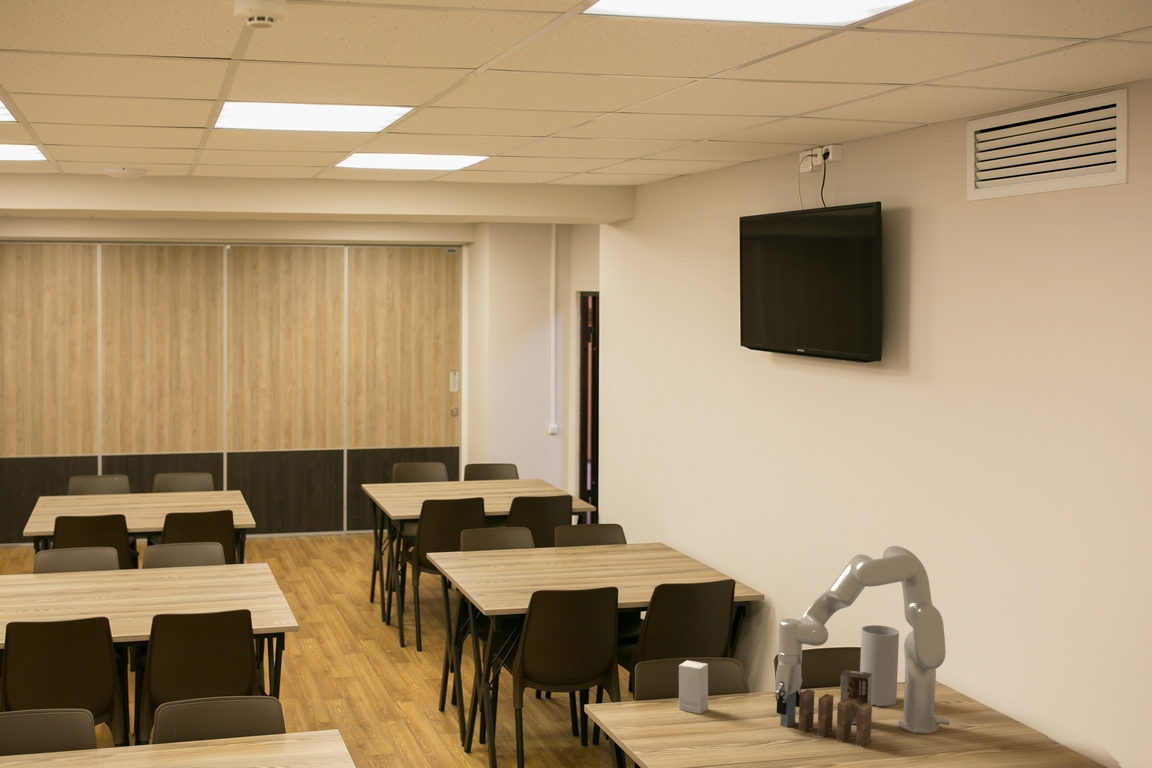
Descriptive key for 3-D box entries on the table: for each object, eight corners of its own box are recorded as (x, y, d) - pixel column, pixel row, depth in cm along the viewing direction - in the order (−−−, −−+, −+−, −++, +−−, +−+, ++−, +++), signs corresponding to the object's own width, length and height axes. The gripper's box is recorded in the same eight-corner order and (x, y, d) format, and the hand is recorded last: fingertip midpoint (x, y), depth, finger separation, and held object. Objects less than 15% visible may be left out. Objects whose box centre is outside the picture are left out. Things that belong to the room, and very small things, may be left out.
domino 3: (851, 737, 351) (852, 700, 351) (843, 742, 347) (844, 704, 346) (844, 735, 353) (845, 698, 352) (836, 740, 348) (837, 703, 348)
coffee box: (870, 721, 366) (872, 672, 365) (867, 727, 360) (868, 678, 359) (842, 716, 370) (844, 668, 369) (838, 722, 364) (840, 674, 363)
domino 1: (813, 727, 359) (814, 691, 359) (805, 732, 355) (806, 695, 354) (806, 725, 361) (807, 689, 360) (798, 730, 356) (799, 693, 356)
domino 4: (870, 742, 347) (872, 704, 347) (863, 747, 343) (864, 709, 342) (863, 740, 349) (864, 703, 348) (855, 745, 344) (857, 707, 344)
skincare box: (708, 709, 374) (709, 663, 373) (699, 715, 369) (701, 668, 368) (686, 704, 379) (687, 659, 378) (677, 709, 373) (678, 664, 372)
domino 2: (832, 732, 355) (833, 695, 355) (824, 737, 351) (825, 700, 350) (825, 730, 357) (826, 693, 356) (817, 735, 352) (818, 698, 352)
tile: (795, 722, 363) (796, 686, 363) (787, 727, 359) (788, 690, 358) (788, 720, 365) (789, 684, 364) (780, 725, 360) (781, 689, 360)
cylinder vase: (853, 695, 391) (856, 625, 390) (887, 694, 393) (890, 625, 391) (866, 707, 379) (869, 635, 377) (902, 707, 380) (904, 635, 379)
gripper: (791, 649, 370) (790, 700, 371) (766, 661, 356) (765, 714, 357) (812, 654, 365) (810, 705, 366) (787, 666, 351) (786, 720, 352)
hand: (788, 709), depth 362 cm, fingers open, 9 cm apart
